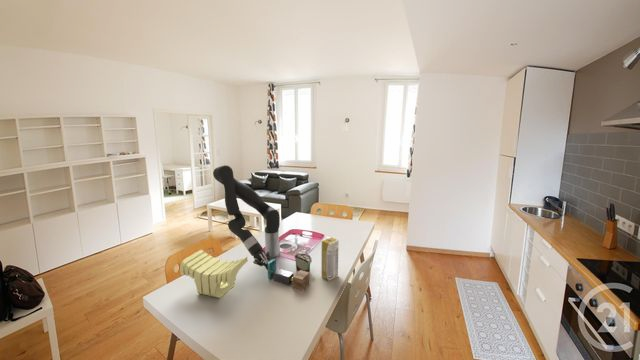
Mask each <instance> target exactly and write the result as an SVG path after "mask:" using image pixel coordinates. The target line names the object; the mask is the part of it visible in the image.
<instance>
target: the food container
mask: <svg viewBox="0 0 640 360" xmlns="http://www.w3.org/2000/svg"><path fill="white" fill-rule="evenodd" d="M294 258H295V267H296V268H295V270H296V271H297V272H298V271H300V270H302V271H306V272H309V273H310V272H311V263H312V262H313V261H312V257H311V255H309V254H307V253H297V254H294Z"/></svg>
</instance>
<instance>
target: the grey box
mask: <svg viewBox="0 0 640 360" xmlns="http://www.w3.org/2000/svg"><path fill="white" fill-rule="evenodd" d="M275 271H277V259H276V258H271V259H270V260H269V262H268V270H267V279H268V280H272V279H274V272H275ZM289 279H290V282H292V283H293V276H291V277H290V278H289Z"/></svg>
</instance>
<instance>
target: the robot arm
mask: <svg viewBox="0 0 640 360" xmlns="http://www.w3.org/2000/svg"><path fill="white" fill-rule="evenodd" d="M212 174H213V177H214V179H215V180H216V181H217V182H219V183H220V184H221V185H223V188H224V204H225V209H226V212H227V215H228V216H234V218H233V219H230V220H228V223H227V227H228V230H230V232H231V233H232V234H234V235H235V236H236V237H238V238H239V239H240V241H241V242H242V244H243V245H244V247H245V249H246V250H247V251H248V252H249V254H250V255H251V256H253V261H252V263H253V264H254V265H257V266H260V267H264V268H265V269H266V270H267V271H268V262H270V261H271V259H274V258H276V257H279V255H280V253H281V250H280V249H281V246H280V242H281V241H280V238H279V237H280V236H279V235H280V233H279V232H280V231H279V229H280V217H281V215H280V212H279V211H278V209H276V208H274V207H272V206H270V205H269V204H268V203H266V202H265V201H264V200H263V199H262V198H261V196H260V195H259V194H258V193H257V192H256V190H254V189H253V188H252V187H250V186H249V185H247V184H245V183H243V182H241V181H239V180H237V179H236V178H235V176H234V170H233V169H232V167H231V166H229V165H226V164H224V165H220V166H218V167H215V168H214V169H213V172H212ZM237 197H238V198H239V199H240V200H241V201H242V202H244V203H245V204H247V205H248V206H249V207H251V208H252V209H254V210H256V211H257V212H258V214H260V215H261V216H262V217H263V219H265V221H266V225H265V227H264V238H265V239H264V243H265V244H264V246H265V250H263V246H262V245H261V244H260V242H259V241H258V240H257V238H256V237H255V236H254V235H253V234H252V232H251V231H250V230H249V229H247V228H246V229H243V228H244V227H245V226H246V219H245V217H244V215H243V213H242V212H241V209H240V206H239V203H238V199H237Z"/></svg>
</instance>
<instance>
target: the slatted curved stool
mask: <svg viewBox="0 0 640 360" xmlns="http://www.w3.org/2000/svg"><path fill="white" fill-rule="evenodd" d="M247 262H248V256H246V257H243V258H240V259H236V260H223V259H219V258H217V257H213V256H212V255H210V254H209V253H208V252H206V251H204V250H203V249H199V250H198V251H196V252H193V253H192V254H191V255H189V256H187V257H185V258H184V259H183V260H182V261H181V262H180V266H179V271H180V276H187V277H190V278H191V279H194V283H195V287H196V290H197V294H200V295H206V296H209V297H213V298H222V297H223V296H224V295H225V294H226V293H228V291H230V290H231V289H232V288H233V287H234V286H235V285H236V282H235V281H236V280H237V278H236V277H237V275H238V272H240V270H241V268H243V266H245V264H246V263H247Z"/></svg>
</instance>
